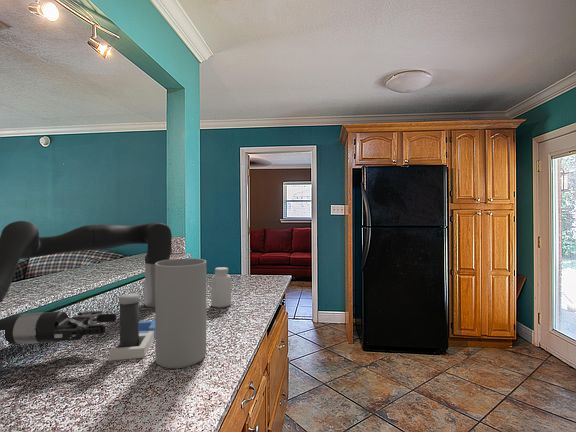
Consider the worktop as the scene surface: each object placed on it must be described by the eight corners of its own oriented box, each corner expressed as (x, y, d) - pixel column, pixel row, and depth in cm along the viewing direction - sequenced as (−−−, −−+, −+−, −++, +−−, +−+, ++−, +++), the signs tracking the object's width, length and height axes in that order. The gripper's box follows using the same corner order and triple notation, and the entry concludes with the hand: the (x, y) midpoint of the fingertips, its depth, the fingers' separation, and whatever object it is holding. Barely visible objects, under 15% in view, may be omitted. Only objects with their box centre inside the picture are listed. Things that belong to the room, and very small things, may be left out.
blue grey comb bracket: (109, 360, 79) (109, 348, 79) (132, 329, 100) (132, 319, 100) (144, 357, 81) (144, 345, 81) (160, 327, 101) (160, 318, 101)
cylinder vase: (177, 375, 72) (177, 268, 72) (145, 361, 79) (144, 263, 79) (216, 354, 83) (216, 261, 83) (184, 343, 90) (184, 257, 89)
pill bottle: (234, 303, 129) (234, 267, 129) (224, 308, 121) (224, 270, 121) (218, 301, 131) (218, 265, 131) (207, 306, 124) (207, 269, 124)
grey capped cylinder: (115, 351, 84) (115, 296, 84) (133, 345, 88) (132, 292, 88) (125, 356, 81) (125, 299, 81) (143, 349, 86) (143, 295, 85)
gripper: (56, 331, 87) (119, 326, 90) (24, 354, 73) (100, 348, 76) (56, 304, 87) (119, 301, 90) (24, 323, 73) (100, 318, 76)
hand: (110, 322), depth 83 cm, fingers open, 8 cm apart
